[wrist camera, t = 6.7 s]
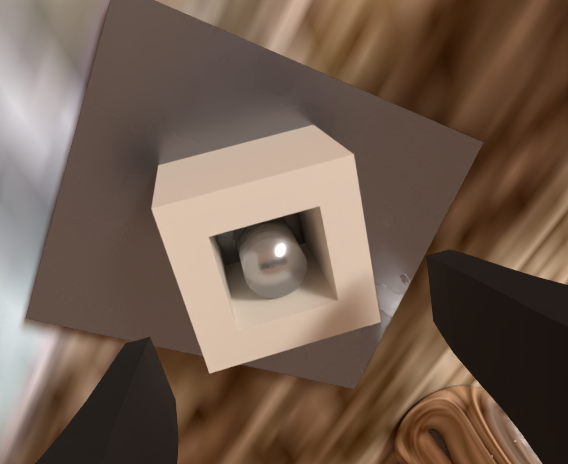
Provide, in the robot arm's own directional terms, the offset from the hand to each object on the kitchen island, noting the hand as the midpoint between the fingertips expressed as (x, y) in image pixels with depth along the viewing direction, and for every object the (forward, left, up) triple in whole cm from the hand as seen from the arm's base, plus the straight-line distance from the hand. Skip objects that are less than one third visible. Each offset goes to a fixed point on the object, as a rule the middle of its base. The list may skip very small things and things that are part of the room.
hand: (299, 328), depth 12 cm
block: (0, 0, -7) cm, 7 cm away
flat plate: (0, 0, -8) cm, 8 cm away
